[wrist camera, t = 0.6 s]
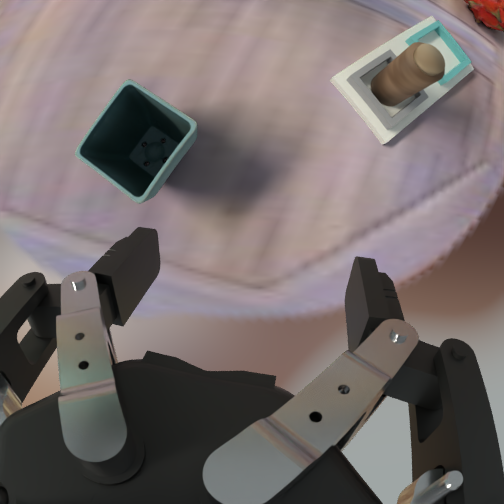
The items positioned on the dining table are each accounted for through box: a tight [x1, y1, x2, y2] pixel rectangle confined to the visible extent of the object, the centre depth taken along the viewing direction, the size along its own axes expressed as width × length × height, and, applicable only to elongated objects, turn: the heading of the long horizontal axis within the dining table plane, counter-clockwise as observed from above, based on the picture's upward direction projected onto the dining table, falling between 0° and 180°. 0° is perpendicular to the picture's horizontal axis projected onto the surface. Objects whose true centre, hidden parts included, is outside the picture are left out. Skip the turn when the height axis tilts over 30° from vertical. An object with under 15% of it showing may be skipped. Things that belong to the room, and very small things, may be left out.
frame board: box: [330, 16, 474, 145], centre depth 33 cm, size 22×10×3 cm, turn 130°
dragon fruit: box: [464, 0, 504, 31], centre depth 29 cm, size 8×8×12 cm
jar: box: [371, 42, 445, 106], centre depth 28 cm, size 4×4×11 cm
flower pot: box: [75, 79, 198, 204], centre depth 30 cm, size 9×9×9 cm
